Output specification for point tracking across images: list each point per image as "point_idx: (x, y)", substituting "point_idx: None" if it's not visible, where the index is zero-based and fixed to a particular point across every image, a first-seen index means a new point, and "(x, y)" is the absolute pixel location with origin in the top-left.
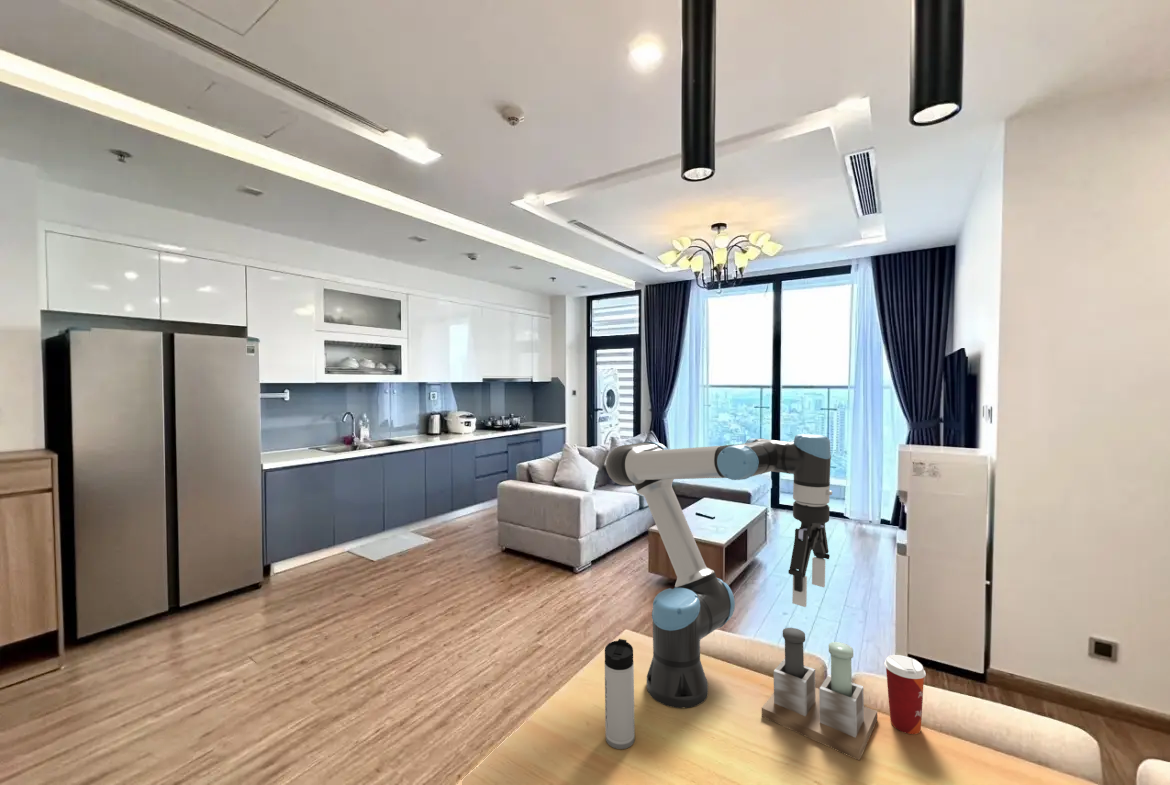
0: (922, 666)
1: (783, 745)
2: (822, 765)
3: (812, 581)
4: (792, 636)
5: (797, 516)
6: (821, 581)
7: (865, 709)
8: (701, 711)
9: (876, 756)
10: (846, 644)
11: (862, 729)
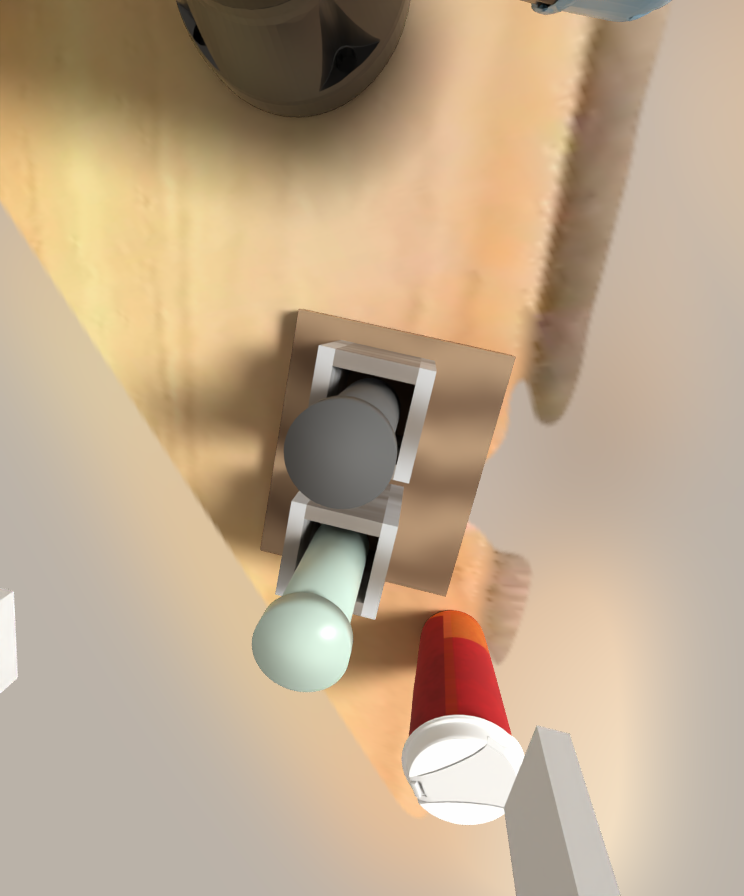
0: (463, 824)
1: (222, 381)
2: (207, 469)
3: (543, 755)
4: (294, 453)
5: None
6: (519, 848)
7: (438, 571)
8: (230, 126)
9: None
10: (344, 671)
11: None
